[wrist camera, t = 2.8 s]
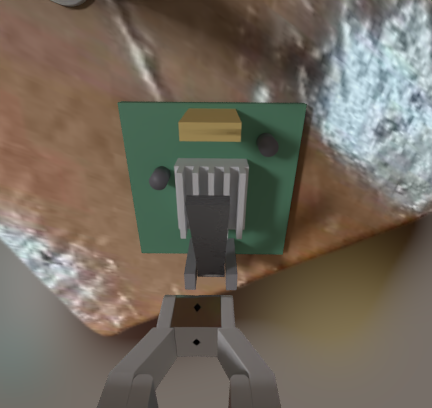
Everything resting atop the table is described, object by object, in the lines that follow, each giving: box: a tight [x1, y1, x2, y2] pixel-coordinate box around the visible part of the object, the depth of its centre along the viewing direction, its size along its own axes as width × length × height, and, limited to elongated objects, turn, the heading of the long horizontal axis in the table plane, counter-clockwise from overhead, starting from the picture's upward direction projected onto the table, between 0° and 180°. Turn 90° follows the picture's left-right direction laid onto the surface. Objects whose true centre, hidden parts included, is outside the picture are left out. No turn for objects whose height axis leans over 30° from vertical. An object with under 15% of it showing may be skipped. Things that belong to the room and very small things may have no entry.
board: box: [118, 101, 307, 290], centre depth 29 cm, size 20×20×9 cm
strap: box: [186, 195, 230, 277], centre depth 24 cm, size 3×16×1 cm
